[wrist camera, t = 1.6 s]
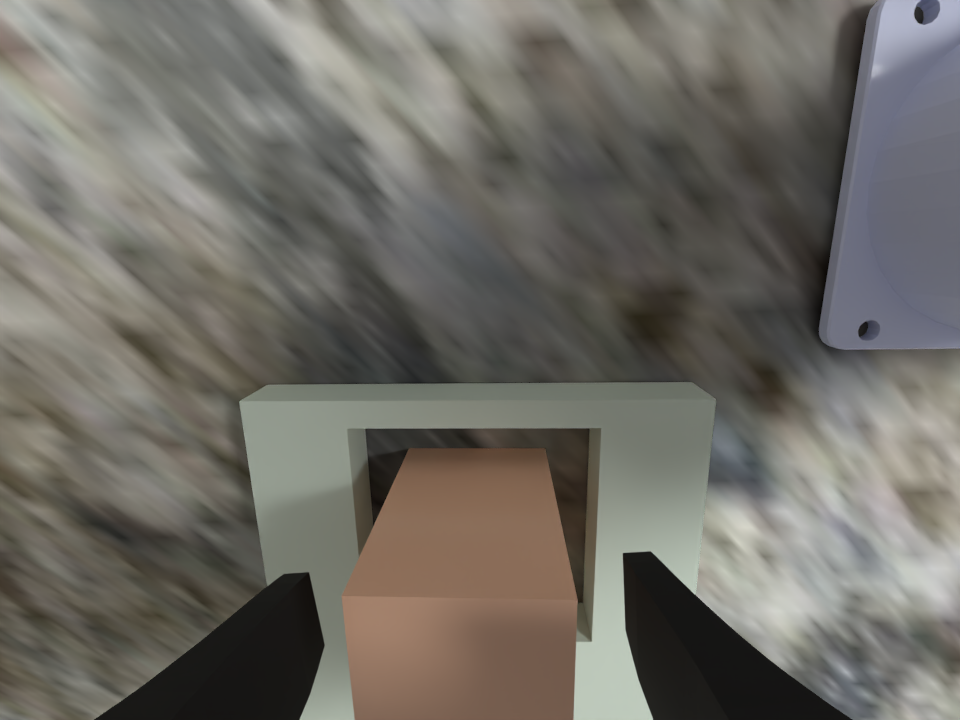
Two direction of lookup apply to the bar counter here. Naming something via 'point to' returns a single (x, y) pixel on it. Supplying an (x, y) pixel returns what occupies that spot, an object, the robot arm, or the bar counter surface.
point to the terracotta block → (464, 593)
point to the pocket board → (599, 406)
